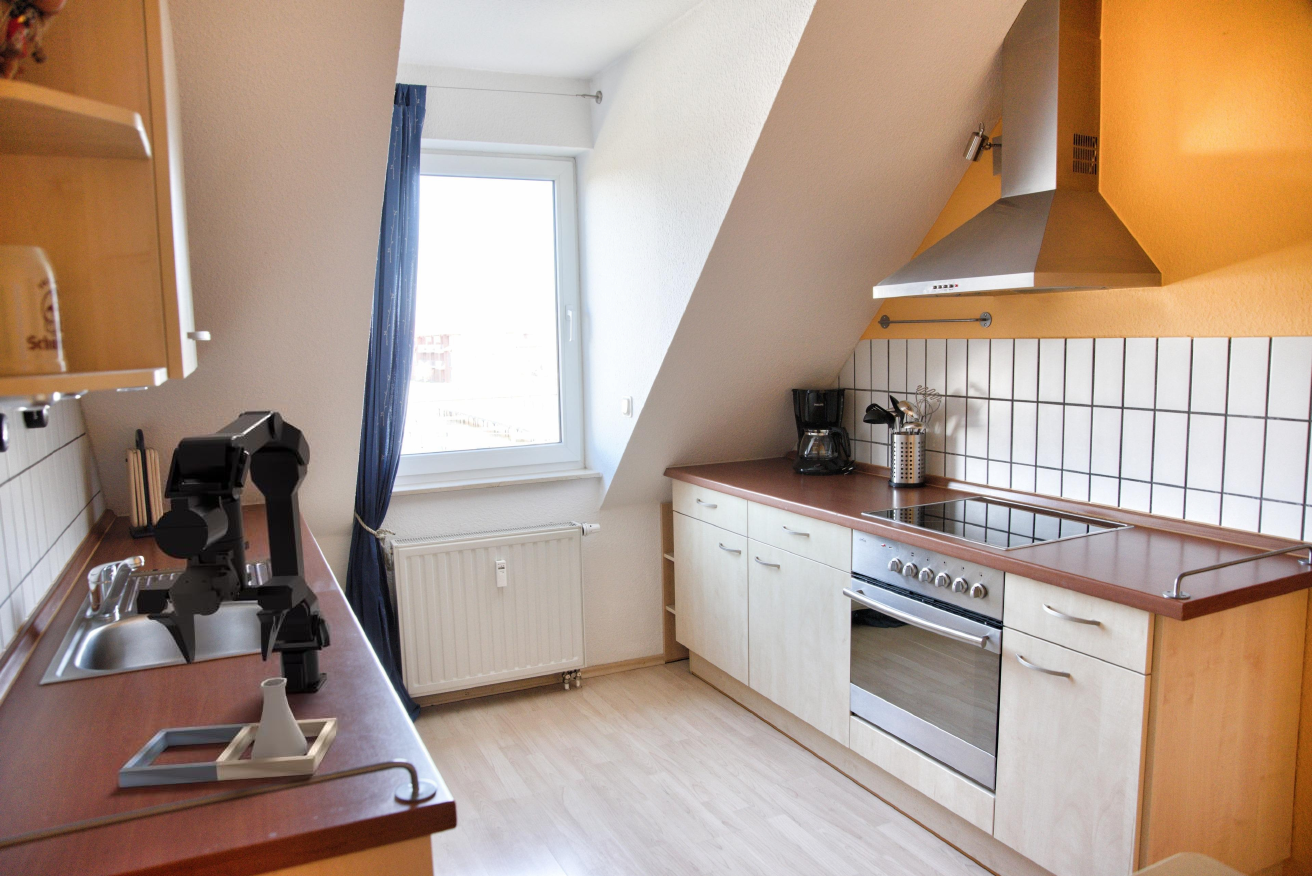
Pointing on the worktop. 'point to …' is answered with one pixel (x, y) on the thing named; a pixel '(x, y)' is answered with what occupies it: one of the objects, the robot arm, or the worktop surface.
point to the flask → (277, 725)
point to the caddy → (224, 755)
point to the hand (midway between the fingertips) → (228, 661)
